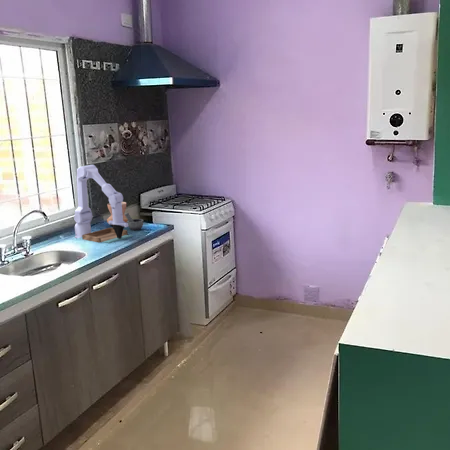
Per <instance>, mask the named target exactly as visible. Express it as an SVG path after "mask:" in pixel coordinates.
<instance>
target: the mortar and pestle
mask: <svg viewBox="0 0 450 450" xmlns="http://www.w3.org/2000/svg"><path fill="white" fill-rule="evenodd" d="M124 214H125V216H126V218H127V219H128V221H127V223H128V228H129V229H130V230H131V231H139V230H141V229H142V228H143V226H144V219H142V218H133V217H131V215H130V214H129V212H125V213H124Z"/></svg>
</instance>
